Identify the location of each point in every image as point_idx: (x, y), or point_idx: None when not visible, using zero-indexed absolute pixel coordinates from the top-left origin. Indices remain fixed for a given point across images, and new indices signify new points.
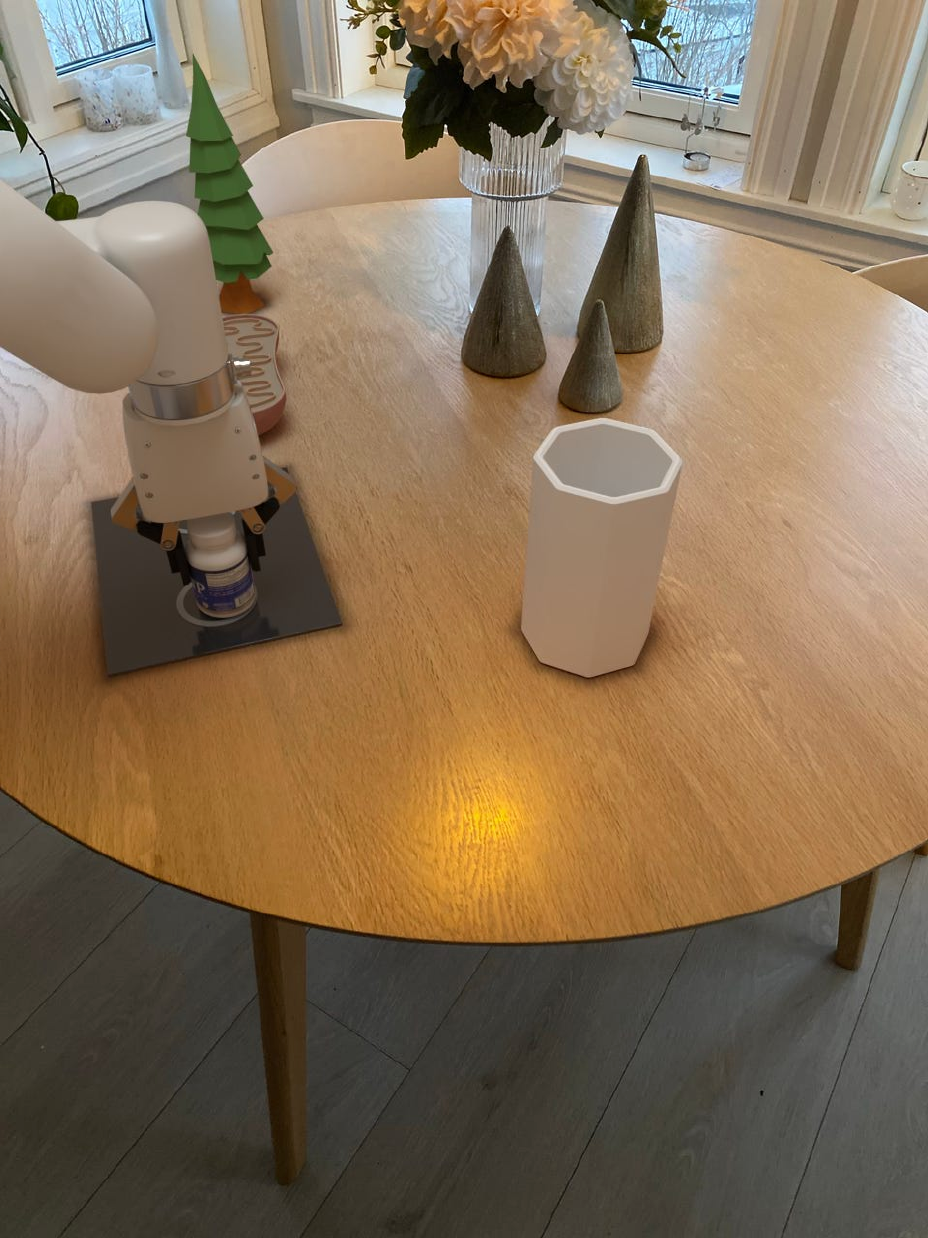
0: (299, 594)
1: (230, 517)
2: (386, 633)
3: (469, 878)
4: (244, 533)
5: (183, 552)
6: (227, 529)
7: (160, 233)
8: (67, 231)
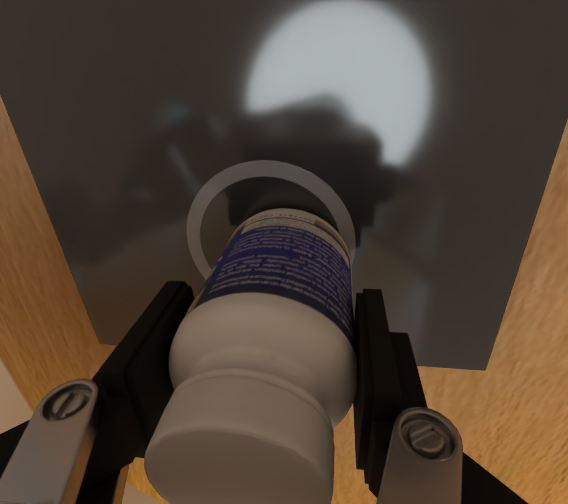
0: (440, 284)
1: (316, 496)
2: (546, 401)
3: None
4: (359, 385)
5: None
6: None
7: None
8: None
